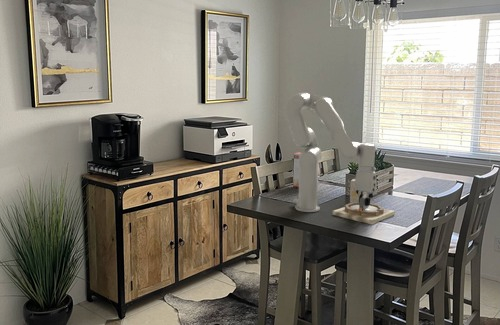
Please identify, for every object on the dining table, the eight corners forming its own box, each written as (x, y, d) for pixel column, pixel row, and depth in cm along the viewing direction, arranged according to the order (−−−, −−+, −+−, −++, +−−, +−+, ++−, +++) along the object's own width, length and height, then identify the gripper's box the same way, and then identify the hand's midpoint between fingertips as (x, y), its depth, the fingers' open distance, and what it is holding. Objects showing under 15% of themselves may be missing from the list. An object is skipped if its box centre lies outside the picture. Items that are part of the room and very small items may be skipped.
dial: (355, 205, 264) (355, 192, 263) (381, 209, 257) (382, 195, 256) (345, 211, 252) (346, 197, 251) (373, 216, 245) (374, 202, 244)
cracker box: (316, 189, 307) (317, 154, 303) (309, 190, 303) (311, 156, 299) (299, 184, 317) (300, 151, 313) (292, 186, 313) (293, 152, 309)
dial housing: (332, 214, 254) (333, 206, 254) (356, 206, 270) (356, 198, 269) (371, 224, 240) (372, 215, 239) (394, 214, 255) (395, 206, 254)
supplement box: (367, 204, 275) (368, 180, 272) (363, 206, 271) (365, 182, 268) (352, 201, 279) (354, 178, 277) (349, 203, 275) (350, 179, 273)
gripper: (384, 170, 247) (382, 206, 251) (356, 165, 258) (354, 200, 262) (377, 172, 242) (374, 209, 246) (347, 167, 253) (346, 203, 257)
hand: (364, 204), depth 254 cm, fingers closed on dial, 2 cm apart
